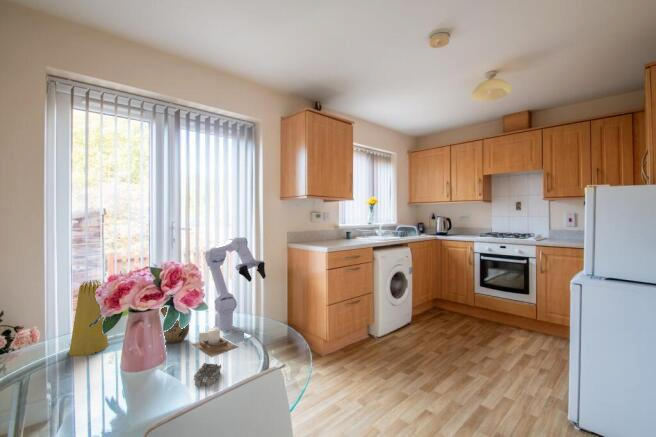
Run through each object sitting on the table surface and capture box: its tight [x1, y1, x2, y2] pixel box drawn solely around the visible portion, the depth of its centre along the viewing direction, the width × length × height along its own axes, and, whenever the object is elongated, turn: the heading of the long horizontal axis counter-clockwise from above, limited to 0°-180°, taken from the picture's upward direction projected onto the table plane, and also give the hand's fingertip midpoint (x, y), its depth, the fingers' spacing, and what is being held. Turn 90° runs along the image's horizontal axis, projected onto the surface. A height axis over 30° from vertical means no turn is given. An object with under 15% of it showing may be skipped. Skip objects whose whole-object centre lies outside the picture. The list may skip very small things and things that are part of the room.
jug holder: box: [191, 336, 238, 358], centre depth 133 cm, size 18×13×2 cm
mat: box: [222, 330, 247, 344], centre depth 144 cm, size 11×11×1 cm
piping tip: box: [68, 279, 109, 357], centre depth 128 cm, size 14×14×30 cm
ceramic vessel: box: [160, 307, 190, 344], centre depth 137 cm, size 16×9×25 cm, turn 93°
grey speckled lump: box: [193, 362, 222, 387], centre depth 108 cm, size 11×8×4 cm
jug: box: [198, 327, 221, 347], centre depth 133 cm, size 9×5×7 cm, turn 110°
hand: (257, 279), depth 136 cm, fingers open, 7 cm apart
